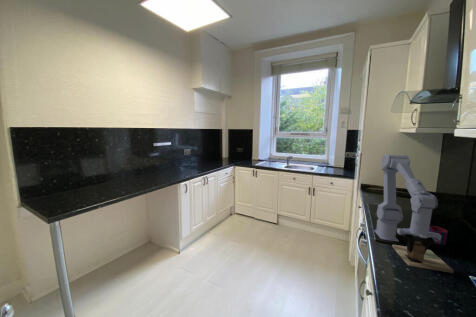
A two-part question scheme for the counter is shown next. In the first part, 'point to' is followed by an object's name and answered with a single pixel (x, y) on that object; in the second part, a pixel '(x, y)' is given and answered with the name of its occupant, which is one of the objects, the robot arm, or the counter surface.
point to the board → (429, 260)
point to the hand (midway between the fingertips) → (415, 251)
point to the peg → (417, 251)
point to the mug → (442, 232)
